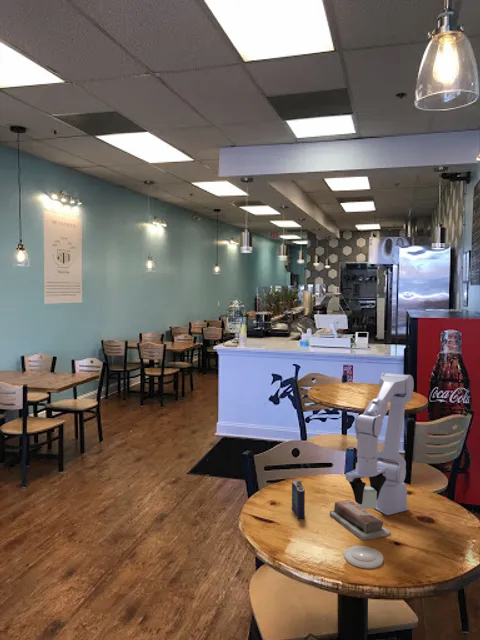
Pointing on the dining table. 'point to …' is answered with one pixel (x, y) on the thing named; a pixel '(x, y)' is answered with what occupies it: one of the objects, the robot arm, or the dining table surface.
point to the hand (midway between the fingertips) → (366, 501)
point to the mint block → (369, 498)
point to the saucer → (363, 557)
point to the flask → (298, 499)
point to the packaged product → (358, 520)
